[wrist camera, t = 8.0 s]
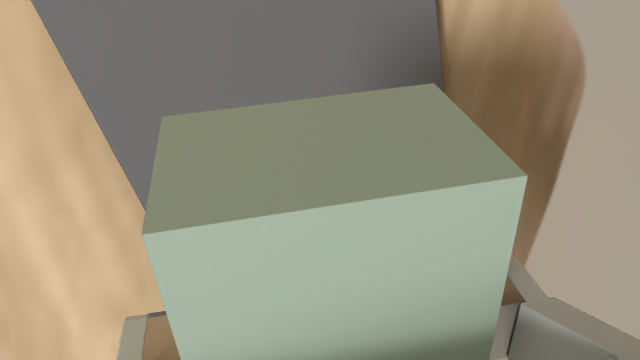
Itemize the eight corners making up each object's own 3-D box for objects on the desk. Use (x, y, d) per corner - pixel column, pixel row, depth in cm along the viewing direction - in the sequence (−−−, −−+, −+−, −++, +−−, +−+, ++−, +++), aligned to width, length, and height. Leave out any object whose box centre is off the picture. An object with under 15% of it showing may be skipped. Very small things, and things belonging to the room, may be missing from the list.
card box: (433, 82, 11) (528, 175, 8) (413, 345, 16) (465, 469, 13) (161, 116, 11) (142, 234, 7) (226, 381, 15) (232, 523, 12)
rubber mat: (448, 176, 27) (452, 182, 26) (175, 258, 26) (175, 266, 26) (418, -122, 19) (423, -122, 18) (30, -13, 18) (25, -9, 18)
